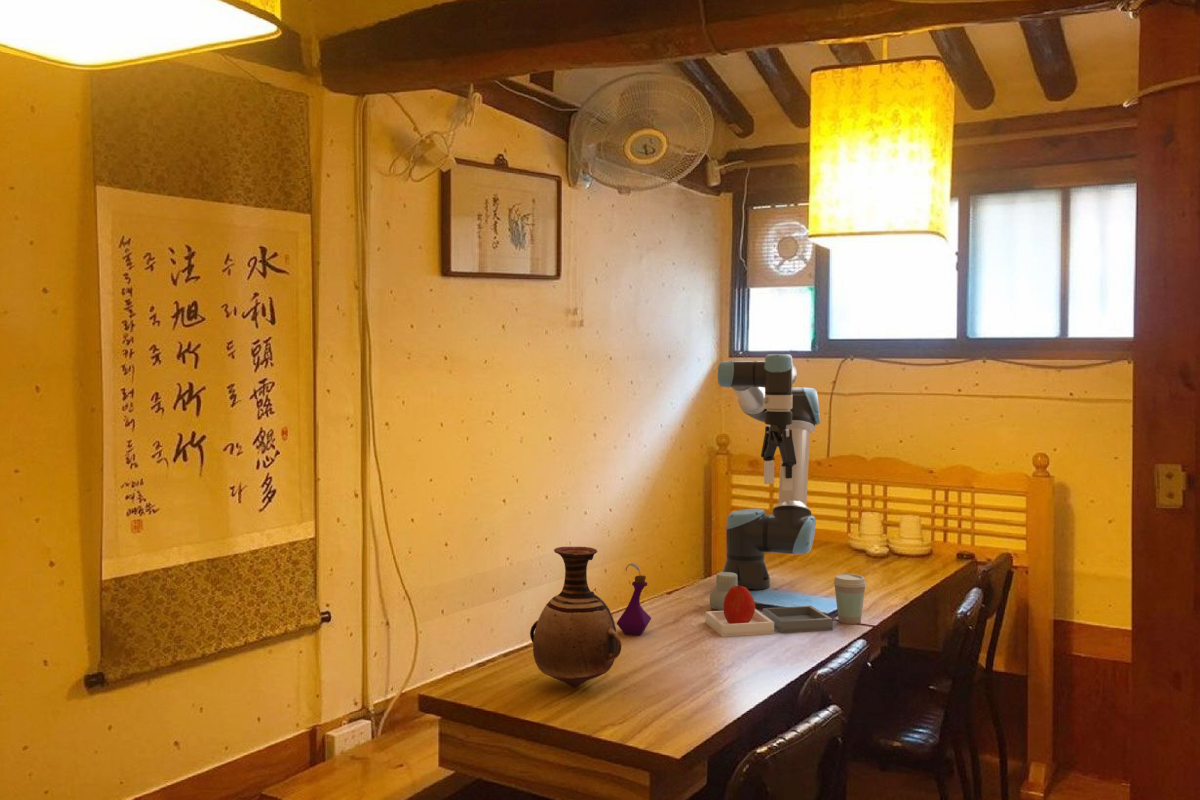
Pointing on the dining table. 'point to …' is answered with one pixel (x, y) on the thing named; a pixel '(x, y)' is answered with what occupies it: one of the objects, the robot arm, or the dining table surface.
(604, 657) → the vase
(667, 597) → the dining table surface
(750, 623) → the beige square dish
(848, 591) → the coffee cup
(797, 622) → the grey square tray
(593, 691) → the dining table surface
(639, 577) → the perfume bottle
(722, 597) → the air freshener
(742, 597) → the apple
